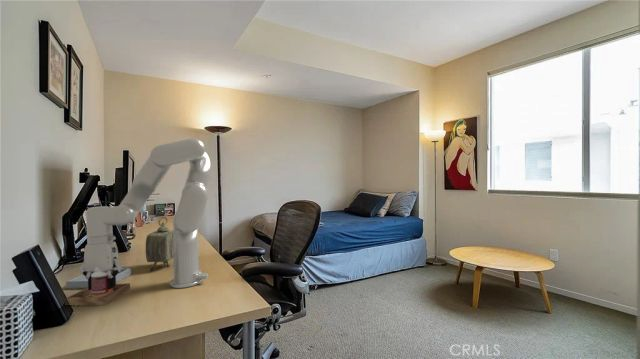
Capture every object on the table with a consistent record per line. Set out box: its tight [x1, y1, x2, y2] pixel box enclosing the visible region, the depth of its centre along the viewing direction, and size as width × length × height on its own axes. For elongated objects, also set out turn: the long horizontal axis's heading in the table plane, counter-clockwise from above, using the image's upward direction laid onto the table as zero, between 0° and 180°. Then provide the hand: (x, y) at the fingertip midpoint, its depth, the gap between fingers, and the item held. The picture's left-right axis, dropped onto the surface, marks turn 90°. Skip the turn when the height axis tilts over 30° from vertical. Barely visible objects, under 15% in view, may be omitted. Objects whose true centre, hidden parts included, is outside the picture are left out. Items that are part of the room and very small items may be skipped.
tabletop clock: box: [144, 216, 174, 271], centre depth 140 cm, size 14×9×25 cm, turn 178°
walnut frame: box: [66, 282, 131, 307], centre depth 103 cm, size 14×14×2 cm
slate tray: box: [65, 268, 132, 290], centre depth 120 cm, size 16×16×3 cm
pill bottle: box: [91, 267, 114, 297], centre depth 104 cm, size 6×6×11 cm
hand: (102, 287), depth 104 cm, fingers closed on pill bottle, 6 cm apart
